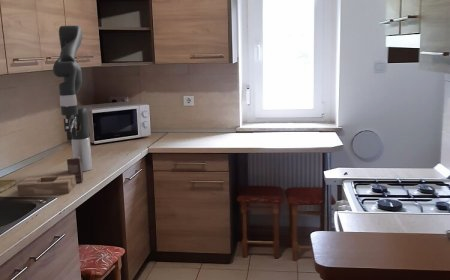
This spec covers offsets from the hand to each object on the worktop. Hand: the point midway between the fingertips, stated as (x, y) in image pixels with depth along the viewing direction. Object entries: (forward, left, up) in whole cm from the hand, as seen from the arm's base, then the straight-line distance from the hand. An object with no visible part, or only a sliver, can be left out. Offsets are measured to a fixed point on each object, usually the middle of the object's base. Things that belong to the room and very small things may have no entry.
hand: (72, 138), depth 229 cm
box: (0, 0, -22) cm, 22 cm away
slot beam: (+12, -10, -22) cm, 27 cm away
